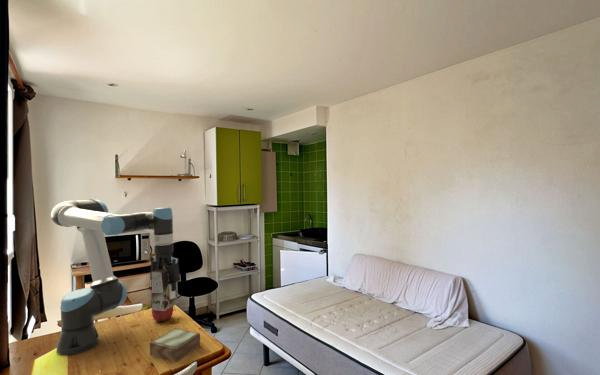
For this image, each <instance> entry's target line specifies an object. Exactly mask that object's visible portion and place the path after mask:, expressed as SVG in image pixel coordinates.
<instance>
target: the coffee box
mask: <svg viewBox="0 0 600 375" xmlns="http://www.w3.org/2000/svg"><path fill="white" fill-rule="evenodd" d="M169 283H170V280H169V271H168V270H166V269H165V267H164V266H163V268H162V269H159V270H155V271H153V272H152V280H151V305H152V306H151V311H152V310H158V311H166V310H167V309H169V308H171V307H172V306H173V307H174V306H175V305H178V304H179V295H178V293H179V292H178V282H176V290H175V295H176V297H175V298H173V299H171V300H170V299H169Z"/></svg>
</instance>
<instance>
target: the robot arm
mask: <svg viewBox="0 0 600 375" xmlns="http://www.w3.org/2000/svg"><path fill="white" fill-rule="evenodd" d="M50 217H51V220H52V221H53V223H55V225H57V226H60V227H65V228H71V227H76V230H77V231H78V232H80V233H81V235H82V239H83V243H84V249H85V252H86V257H87V260H88V261H87V262H88V266H89V270H90V275H91V279H92V282H91V283H90V286H89V287H84V288H80V289H75V290H73V291H70V292H68V293H67V294H65V295H64V296H62V298H61V302H60V307H59V308H60V320H61V321H60V323H61V325H60V326H61V332H60V335H59V338H58V341H57V344H56V353H57V354H58V355H61V354H62V356H71V355H76V354H80V353H83V352H86V351H89V350H90V349H93V348H94V347H96V346H97V345H98V344H99V342H100V335H99V333H98V331H97V329H96V326H95V317H96V316H100V315H101V314H104V313H106V312H109V311H111V310H115V309H116V308H119V307H120V306H122V305H124V303H125V301H126V299H127V297H128V296H127V295H128V290H127V286H126V285H125V283H124V282H123V281H119V278H118V277H117V276H115V275H114V272H113V267H112V262H111V258H110V254H109V251H108V246H107V242H106V237H105V236H117V235H118V236H119V235H123V234H127V233H133V232H139V231H144V230H147V231H148V230H153V243H154V247H153V248H154V250H153V252H154V254H155V256H152V257H150V258H149V260H150V275H149V279H150V281H152V272H153V271H155V270H159V269H162V268H163V267H165V269H166V270H168V271H169V280H170V283H169V299H170V300H171V299H173V298H175V297H176V295H175V290H176V282H177V283H179V282H180V281H181V275H180V266H179V261H180V260H179V259H180V258H178V257H177V258H176V257H174V255H173V253H174V244H173V243H174V225H173V222H174V221H173V219H174V216H173V209H172V208H171V207H155V208H153V209H152V211H139V212H138V211H137V212H134V213H127V214H116V213H111V212H110V213H109V209H108V206H107V205H106V204H105V203H104V202H103V201H102V200H99V199H92V198H91V199H79V200H77V199H76V200H65V201H62V202H60V203H58V204H56V205H55V206H54V207H53V208H52V210H51V213H50Z"/></svg>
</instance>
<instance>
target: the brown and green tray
mask: <svg viewBox="0 0 600 375" xmlns="http://www.w3.org/2000/svg"><path fill="white" fill-rule="evenodd" d="M197 346H198V347H200V346H201V333H200V332H195V331H190V330H189V331H188V330H185V329H181V328H175V327H174V328H173V329H171V330H169V331H168V332H166V333H163V334H162V335H161V336H159V337H157V338H155V339H153V341H150V342H149V355H150V356H154V357H157V358H161V359H164V360H168V361H172V362H178V361H180V360H181V359H183V358H185V356H187V355H188V354H190V353H191V352H193V349H194V350H195V349H196V348H198V347H197Z"/></svg>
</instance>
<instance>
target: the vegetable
mask: <svg viewBox="0 0 600 375" xmlns="http://www.w3.org/2000/svg"><path fill="white" fill-rule="evenodd" d="M173 314H174V306H172V307H171V308H169V309H167V310H166V311H158V310H152V309H151V315H152V318H153V320H154V321H155V322H165V321H167V320H169V319H171V317H172V316H173Z"/></svg>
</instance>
